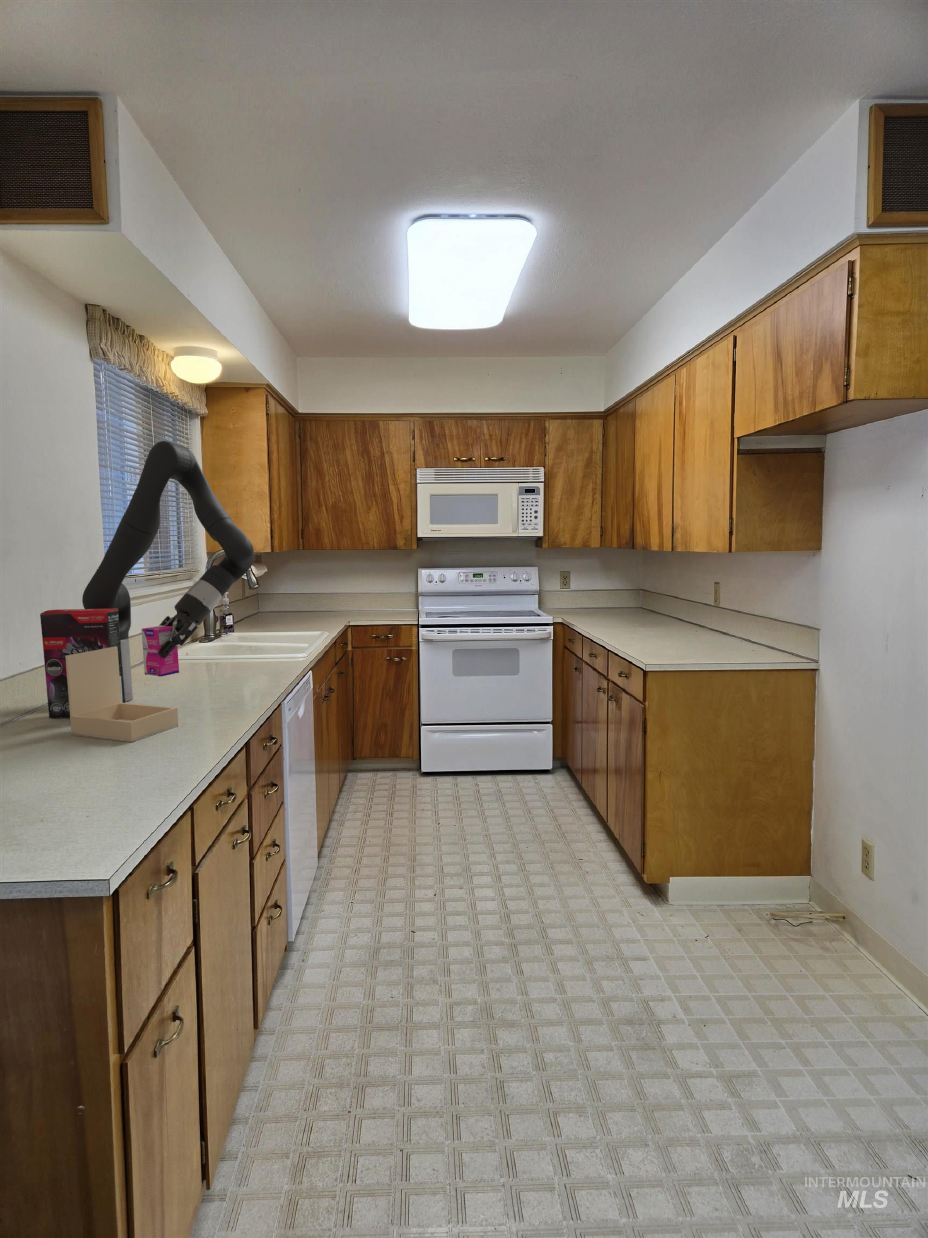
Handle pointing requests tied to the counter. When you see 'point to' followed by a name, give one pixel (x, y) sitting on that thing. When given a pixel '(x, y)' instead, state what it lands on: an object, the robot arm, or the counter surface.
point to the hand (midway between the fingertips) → (154, 654)
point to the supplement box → (151, 645)
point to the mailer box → (109, 701)
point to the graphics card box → (75, 647)
